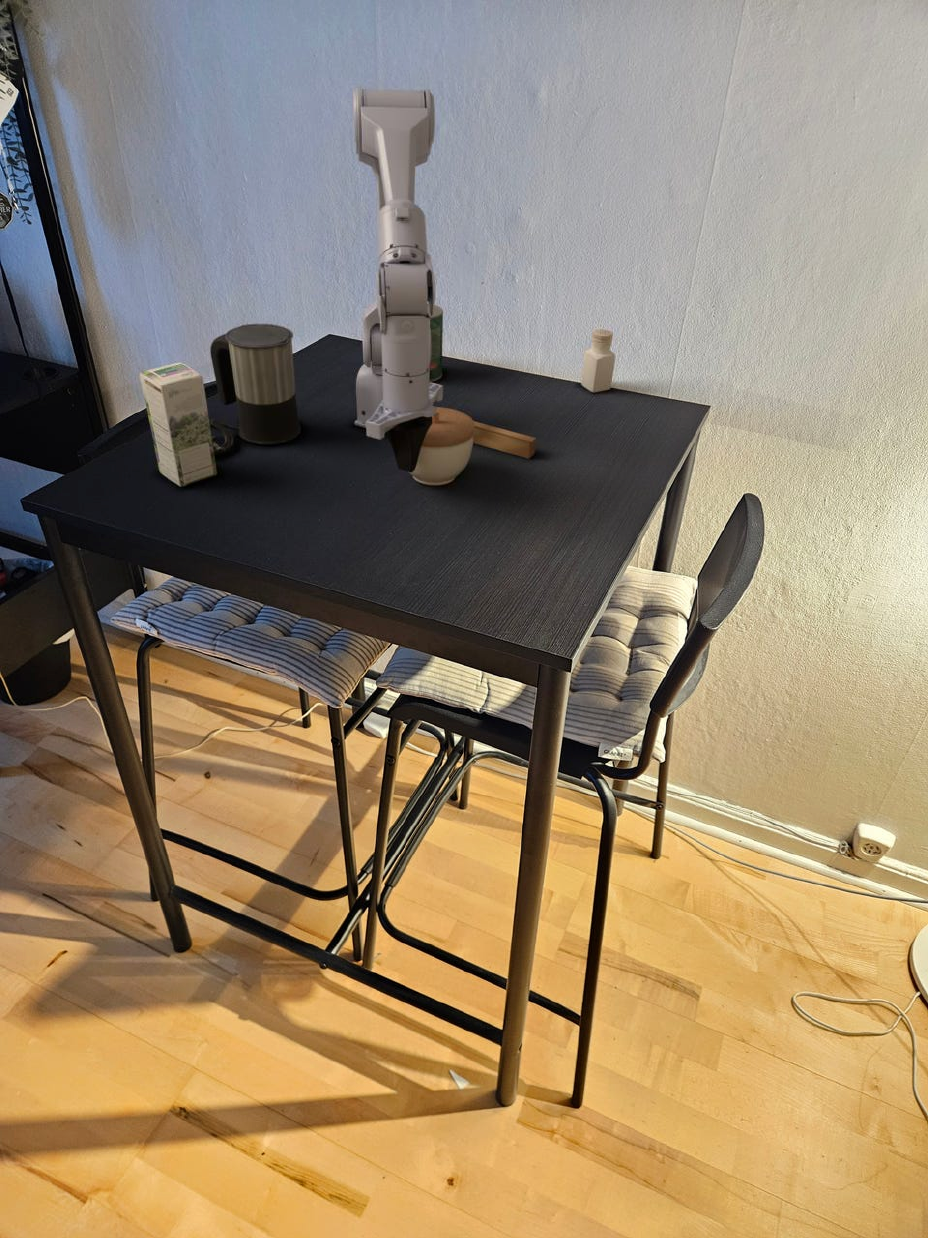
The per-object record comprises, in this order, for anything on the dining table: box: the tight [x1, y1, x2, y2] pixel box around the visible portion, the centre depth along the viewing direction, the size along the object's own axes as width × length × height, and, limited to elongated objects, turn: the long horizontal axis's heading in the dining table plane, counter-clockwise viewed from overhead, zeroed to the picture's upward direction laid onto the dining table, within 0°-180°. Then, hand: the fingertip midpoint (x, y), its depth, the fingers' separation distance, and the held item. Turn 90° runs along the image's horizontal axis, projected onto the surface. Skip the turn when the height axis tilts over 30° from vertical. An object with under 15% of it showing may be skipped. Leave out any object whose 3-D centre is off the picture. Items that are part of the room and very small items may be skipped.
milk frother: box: [209, 323, 302, 456], centre depth 118 cm, size 14×16×15 cm
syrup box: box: [139, 361, 218, 488], centre depth 110 cm, size 6×6×14 cm
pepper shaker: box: [580, 328, 616, 393], centre depth 140 cm, size 4×4×10 cm
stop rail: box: [473, 420, 537, 459], centre depth 124 cm, size 16×2×3 cm, turn 60°
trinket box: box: [408, 406, 475, 486], centre depth 113 cm, size 11×11×9 cm
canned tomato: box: [427, 302, 444, 383], centre depth 141 cm, size 8×8×11 cm
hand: (406, 469), depth 109 cm, fingers closed
